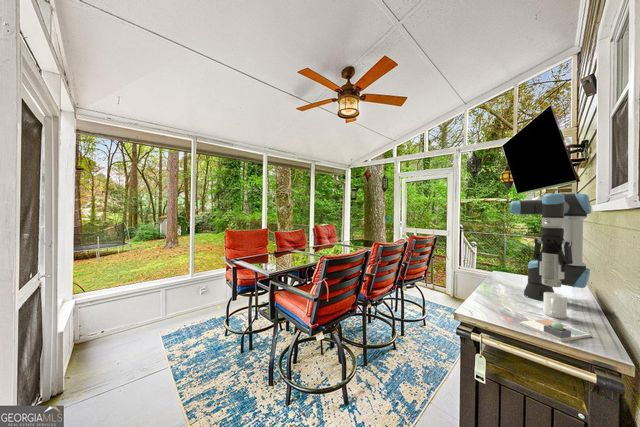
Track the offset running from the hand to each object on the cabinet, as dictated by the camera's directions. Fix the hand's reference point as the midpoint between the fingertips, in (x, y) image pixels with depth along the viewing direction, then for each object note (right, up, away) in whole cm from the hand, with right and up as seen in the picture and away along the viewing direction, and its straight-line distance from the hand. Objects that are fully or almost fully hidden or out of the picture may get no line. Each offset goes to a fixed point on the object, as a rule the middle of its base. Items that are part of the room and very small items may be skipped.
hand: (551, 276), depth 113 cm
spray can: (0, -4, 0) cm, 4 cm away
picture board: (-3, -23, -5) cm, 23 cm away
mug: (+12, -23, +11) cm, 28 cm away
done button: (-8, -20, -10) cm, 24 cm away
